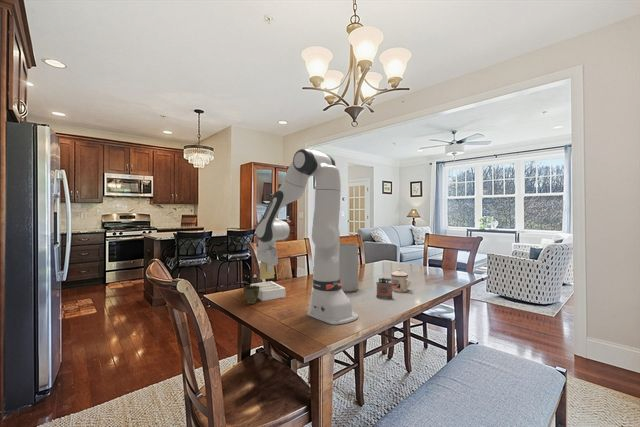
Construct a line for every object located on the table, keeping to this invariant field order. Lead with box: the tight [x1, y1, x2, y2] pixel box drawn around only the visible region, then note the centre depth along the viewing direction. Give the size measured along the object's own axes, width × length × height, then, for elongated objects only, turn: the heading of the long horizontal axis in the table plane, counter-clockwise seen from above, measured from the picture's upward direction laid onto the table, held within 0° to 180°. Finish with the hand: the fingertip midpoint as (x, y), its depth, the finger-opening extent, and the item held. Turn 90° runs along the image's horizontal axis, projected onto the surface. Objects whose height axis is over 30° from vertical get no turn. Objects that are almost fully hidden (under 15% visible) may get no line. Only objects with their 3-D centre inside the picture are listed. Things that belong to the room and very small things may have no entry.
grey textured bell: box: [243, 285, 259, 305], centre depth 137 cm, size 8×7×8 cm
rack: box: [249, 280, 286, 302], centre depth 152 cm, size 18×13×4 cm
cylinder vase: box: [339, 243, 359, 293], centre depth 162 cm, size 12×12×25 cm
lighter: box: [375, 276, 393, 300], centre depth 146 cm, size 8×3×10 cm, turn 68°
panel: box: [259, 262, 275, 280], centre depth 152 cm, size 2×7×8 cm, turn 123°
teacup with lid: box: [390, 268, 412, 293], centre depth 159 cm, size 12×9×12 cm
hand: (267, 271), depth 152 cm, fingers closed on panel, 2 cm apart
